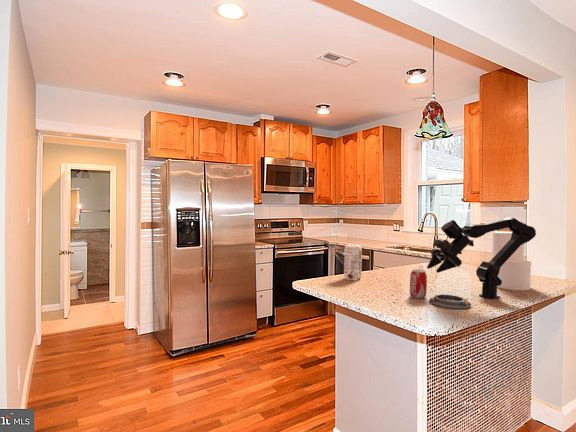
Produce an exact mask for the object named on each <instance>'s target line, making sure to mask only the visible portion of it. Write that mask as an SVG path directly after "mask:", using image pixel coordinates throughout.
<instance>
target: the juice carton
mask: <svg viewBox="0 0 576 432" xmlns="http://www.w3.org/2000/svg"><path fill="white" fill-rule="evenodd" d="M362 249H363V248H362V245H358V244H357V245H356V244H352V243H349V244H345V246H344V251H343V252H344V255H343V258H344V259H343V260H344V261H343V276H344V280H346V281H347V280H348V281H355V282H356V281H359V280H361V277H362V262H363V261H362V259H363V257H362V256H363V251H362Z"/></svg>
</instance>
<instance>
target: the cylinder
mask: <svg viewBox="0 0 576 432" xmlns="http://www.w3.org/2000/svg"><path fill="white" fill-rule="evenodd" d="M511 235H512V231H492V251H491V252H492V253H491V260H492V259H493V257H494V256H495V255H496V254H497V253H498V252H499V251H500V250H501V249H502V248H503V247H504V246H505V244H506V243H507V242H508V241H509V240H510V239H511ZM524 253H525V243H524V244H522V245H521V246H520V247H519V248H518V249H517V250H516V251H515V252H514V253H513V254H512V255H511V256H510V258H509V259H508V260H507V261H506V262H505V263H504V264H503V265H502V266H501V267H500V271H499V274H498V277H499V278H500V279H501V280H502V283H501V285H500V286H497V288H500V289H504V290H505V289H506V290H511V291H529V290H530V289H531V274H532V273H531V272H532V261H531V260H528V259H525V258H524V256H525V254H524Z"/></svg>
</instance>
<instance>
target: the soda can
mask: <svg viewBox="0 0 576 432" xmlns="http://www.w3.org/2000/svg"><path fill="white" fill-rule="evenodd" d="M426 272H427V271H426V270H424V269H412V270H411V273H410V278H409V294H410V296H411V297H412V298H414V299H424V298H425V297H427V288H428V287H427V286H428V285H427V283H428V275H427V273H426Z"/></svg>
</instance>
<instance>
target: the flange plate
mask: <svg viewBox="0 0 576 432" xmlns="http://www.w3.org/2000/svg"><path fill="white" fill-rule="evenodd" d="M468 299H469V298H466V297H462V296H459V295H455V294H445V293H444V294H440V293H439V294H434V296H433V297H430V298H429V300H428V301H429V303H430V304H431V305H433V306H435V307H438V308H442V309H447V310H467V309H471V308H472V303H471V301H468Z"/></svg>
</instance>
